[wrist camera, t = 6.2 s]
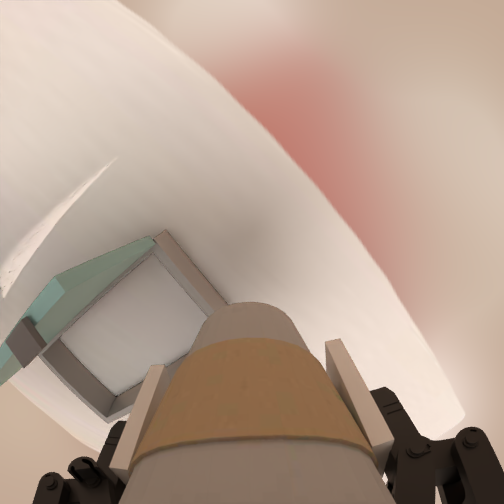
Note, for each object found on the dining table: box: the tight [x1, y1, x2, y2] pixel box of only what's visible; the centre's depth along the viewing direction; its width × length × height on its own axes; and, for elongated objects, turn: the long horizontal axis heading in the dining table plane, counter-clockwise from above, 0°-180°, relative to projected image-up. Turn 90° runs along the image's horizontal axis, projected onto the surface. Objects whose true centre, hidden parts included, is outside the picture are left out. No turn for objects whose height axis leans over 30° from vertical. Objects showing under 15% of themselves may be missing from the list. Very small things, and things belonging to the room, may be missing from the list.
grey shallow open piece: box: [38, 230, 228, 423], centre depth 33 cm, size 15×26×5 cm, turn 127°
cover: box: [0, 236, 155, 386], centre depth 21 cm, size 16×26×2 cm
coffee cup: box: [119, 302, 396, 504], centre depth 9 cm, size 9×9×15 cm
